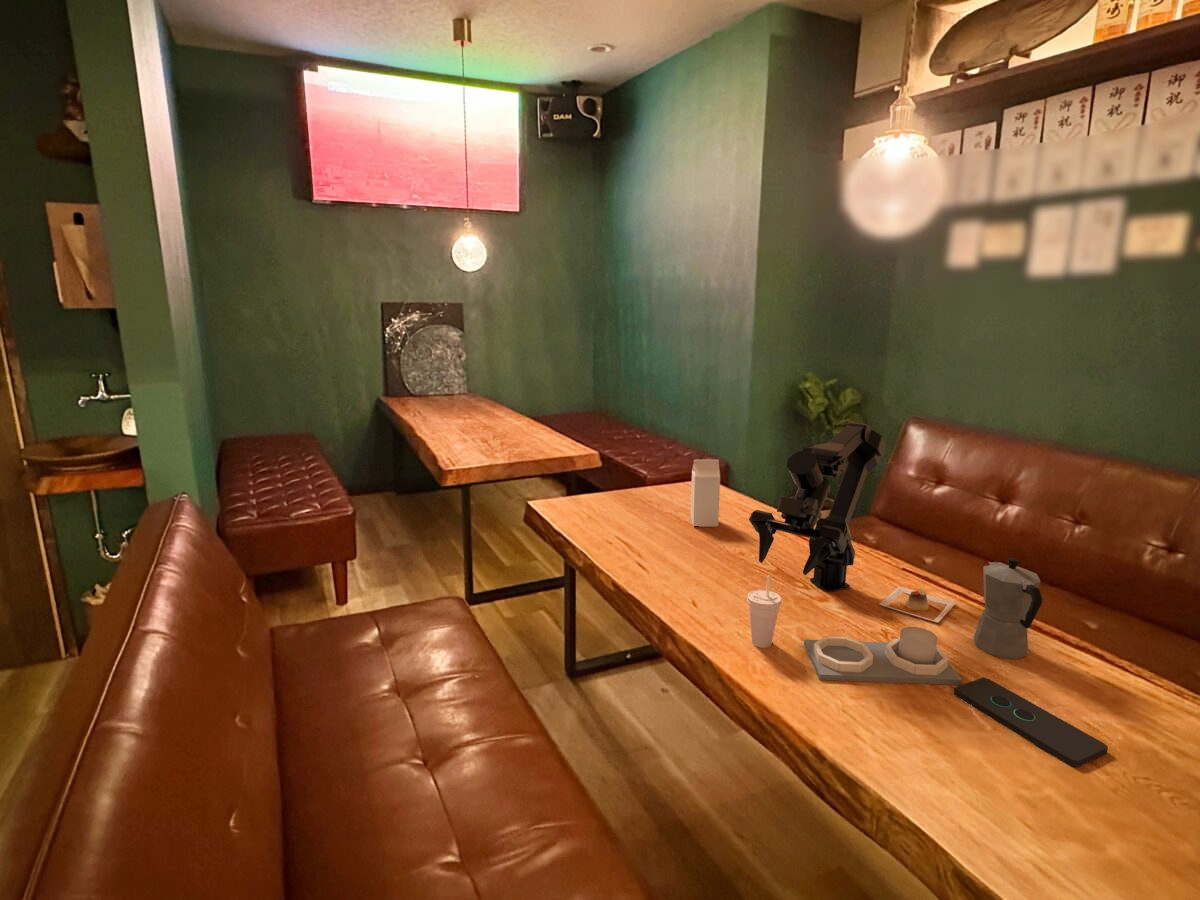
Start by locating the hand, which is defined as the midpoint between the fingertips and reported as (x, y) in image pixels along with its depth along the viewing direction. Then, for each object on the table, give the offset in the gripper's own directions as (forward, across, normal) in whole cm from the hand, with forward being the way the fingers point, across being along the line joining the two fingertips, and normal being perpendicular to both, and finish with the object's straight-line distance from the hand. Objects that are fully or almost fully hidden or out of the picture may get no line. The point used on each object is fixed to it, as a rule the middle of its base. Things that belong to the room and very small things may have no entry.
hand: (781, 567), depth 132 cm
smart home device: (+12, +43, +8) cm, 45 cm away
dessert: (-10, +19, +30) cm, 37 cm away
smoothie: (+14, 0, +5) cm, 15 cm away
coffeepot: (-5, +36, +24) cm, 43 cm away
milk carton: (-22, -44, +41) cm, 64 cm away
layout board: (+9, +20, +9) cm, 24 cm away
